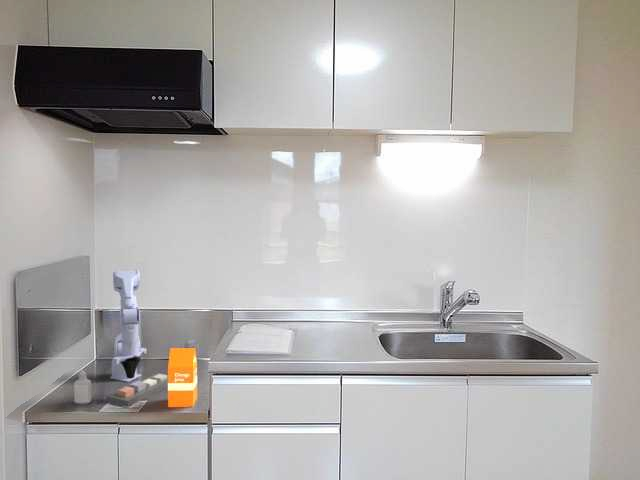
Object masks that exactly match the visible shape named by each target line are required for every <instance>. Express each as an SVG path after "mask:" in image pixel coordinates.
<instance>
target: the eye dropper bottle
mask: <svg viewBox="0 0 640 480" xmlns="http://www.w3.org/2000/svg"><path fill="white" fill-rule="evenodd" d="M87 377H88V376H87V372H86V371H85V369H84V368H82V369H81V371H80V372H79V373H78V379H76V380H75V381H74V384H73V397H74V398H73V399H74V400H73V402H74V403H75V404H77V405H78V404H79V405H84V404H86V405H88V404H89V403H91V402H92V401H93V393H92V392H93V391H92V390H93V389H92V388H93V386H92V385H93V384H92V380H91V379H88V378H87Z"/></svg>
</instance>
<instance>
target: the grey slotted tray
mask: <svg viewBox="0 0 640 480" xmlns="http://www.w3.org/2000/svg"><path fill="white" fill-rule="evenodd" d="M158 374H160V373H158V372H157V373H154V374H152V375H150V376H148V377H146V378H144V379H141V380H139V381H140V382H143V381H145V380H147V379H153V377H154V376H156V375H158ZM162 374H163V373H162ZM163 375H165V374H163ZM127 387H130V385H128V386H127ZM166 388H168V378H167V379H165V380H163V381H157V383H156V384H154V385H152V386H150V387H149V386H146V389H144V390H142V391H140V392H135V391H134V394H133V395H131V396H129V397H127V398H123V397H119V396H117V391H115V392H112V393H110V394H109V395H107V396H106V402H107V403H112V404H115V405H116V404H117V405H120V406H125V407H130V406H132V405H134V404H136V403H138V402H140V401H142V400H143V399H146V398H148V397H150V396H152V395H153V394H156V393H158V392H160V391H162V390H163V389H166Z"/></svg>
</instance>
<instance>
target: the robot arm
mask: <svg viewBox="0 0 640 480" xmlns="http://www.w3.org/2000/svg"><path fill="white" fill-rule="evenodd" d="M112 275H113V276H112V279H113V280H112V282H113V283H112V284H113V289H114V291H115V292H116V293H118V294H119V296H120V300H119V301H120V311H119V323H120V329H121V331H120V332H119V334H117V335H116V336H115V337H114V342H113V352H114V353H113V354H114V357H112V361H111V376H110V377H109V378H110V379H113V380H116V381H121V382H127V383H128V382H131V381H133V380H136V379H138V378H140V377H142V374H140V373H138V365H139V363H140V361H141V357H140V356H141V355H143V354H144V355H145V354H147V348H146V347H141V341H140V335H139V324H140V321H141V314H140V308H139V306H138V301H137V300H138V299H137V296H136V295H134V292H135V291H138V289H139V287H140V281H141V280H140V276H141V275H140V270H138V269H136V270H113V272H112Z"/></svg>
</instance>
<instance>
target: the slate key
mask: <svg viewBox="0 0 640 480" xmlns="http://www.w3.org/2000/svg"><path fill="white" fill-rule="evenodd" d="M140 381H141V380H137V381H135V382H132V383H130V384H129V386H130V387H131V388H134V391H135V392H140V391H142V390H144V389H146V383H145V382H140Z"/></svg>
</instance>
